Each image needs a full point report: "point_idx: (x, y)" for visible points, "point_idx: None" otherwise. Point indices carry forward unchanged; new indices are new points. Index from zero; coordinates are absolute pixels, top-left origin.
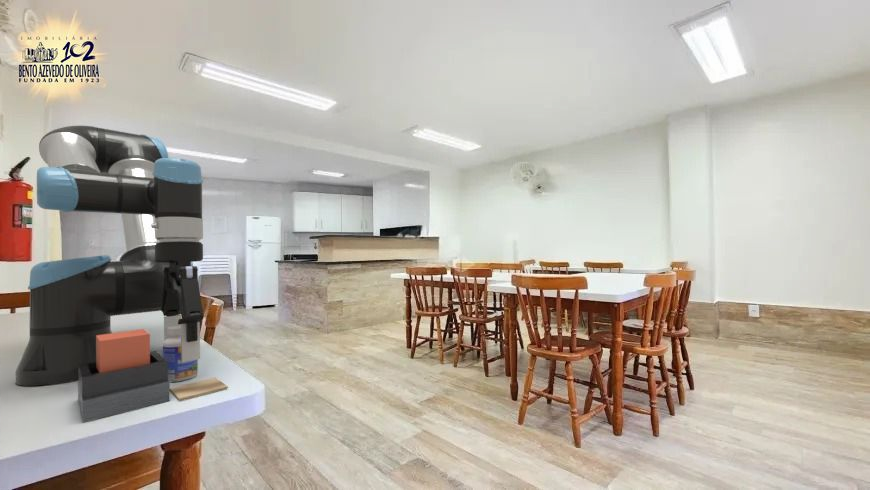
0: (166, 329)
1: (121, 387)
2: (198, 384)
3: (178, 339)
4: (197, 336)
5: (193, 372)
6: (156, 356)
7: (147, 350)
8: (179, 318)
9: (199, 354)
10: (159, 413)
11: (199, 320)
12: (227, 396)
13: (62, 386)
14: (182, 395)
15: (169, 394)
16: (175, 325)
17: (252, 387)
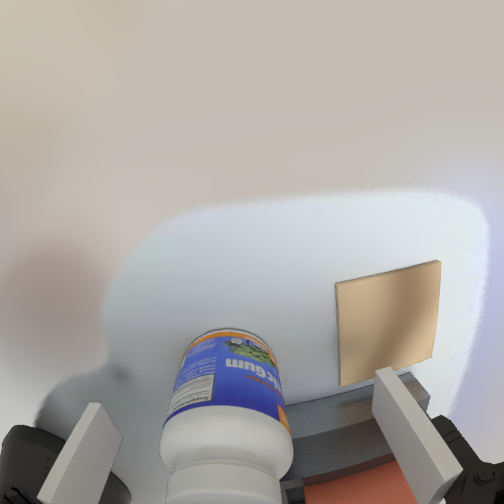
0: (98, 491)
1: None
2: (370, 329)
3: (278, 475)
4: (453, 424)
5: (264, 348)
6: (354, 470)
7: None
8: (59, 495)
9: (395, 376)
10: (451, 372)
11: (488, 465)
12: (473, 267)
13: (147, 492)
14: (419, 354)
15: (416, 379)
16: (77, 482)
17: (463, 206)
